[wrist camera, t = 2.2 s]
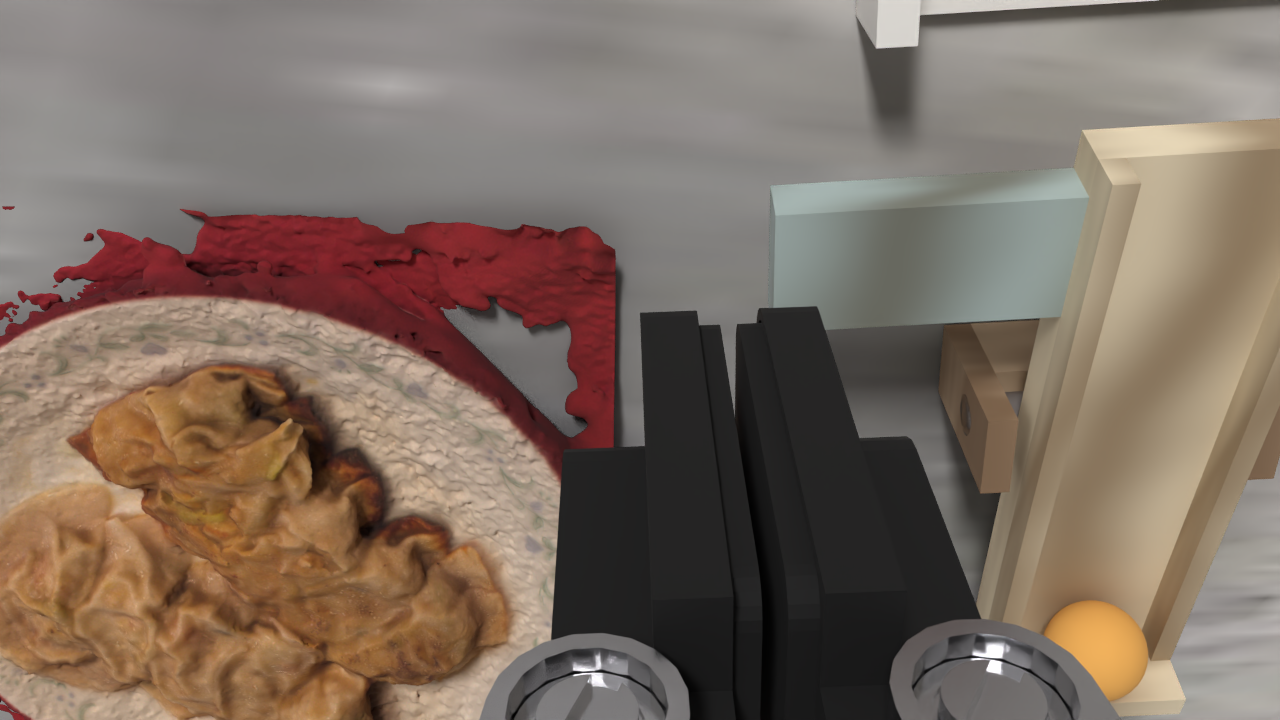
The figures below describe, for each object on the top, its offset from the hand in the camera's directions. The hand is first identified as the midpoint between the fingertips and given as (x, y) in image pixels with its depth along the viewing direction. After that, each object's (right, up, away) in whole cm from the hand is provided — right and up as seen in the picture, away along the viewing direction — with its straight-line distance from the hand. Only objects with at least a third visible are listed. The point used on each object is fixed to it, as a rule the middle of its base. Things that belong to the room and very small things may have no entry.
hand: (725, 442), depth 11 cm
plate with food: (-14, -6, +30) cm, 34 cm away
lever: (+9, -1, +22) cm, 23 cm away
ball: (+13, -8, +24) cm, 29 cm away
